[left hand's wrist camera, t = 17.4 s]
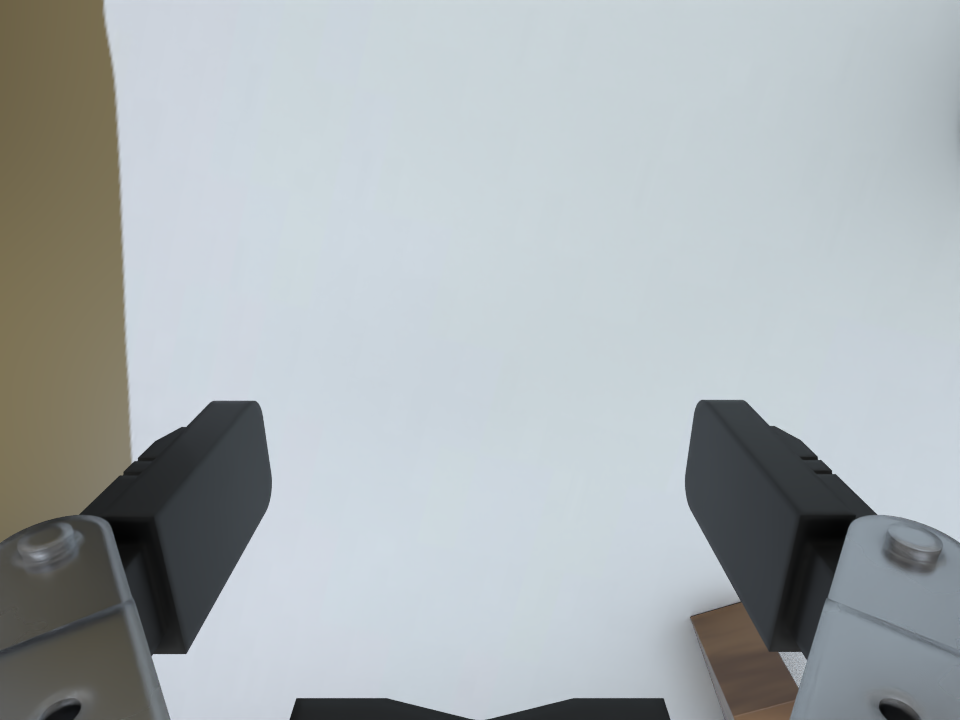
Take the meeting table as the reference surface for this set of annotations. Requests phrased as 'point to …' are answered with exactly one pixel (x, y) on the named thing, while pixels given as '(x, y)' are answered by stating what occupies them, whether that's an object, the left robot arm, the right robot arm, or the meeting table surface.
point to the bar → (744, 667)
